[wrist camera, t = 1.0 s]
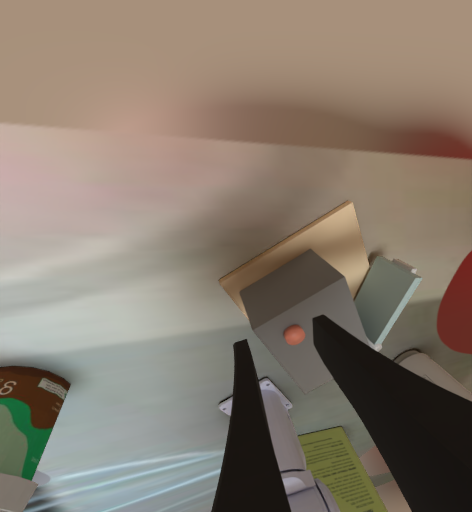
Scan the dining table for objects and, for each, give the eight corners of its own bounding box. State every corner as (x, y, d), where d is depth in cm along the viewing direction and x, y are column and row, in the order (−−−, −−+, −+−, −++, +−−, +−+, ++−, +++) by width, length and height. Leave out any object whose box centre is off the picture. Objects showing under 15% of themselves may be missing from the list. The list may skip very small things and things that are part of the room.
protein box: (266, 442, 37) (310, 608, 24) (341, 424, 41) (418, 563, 27) (260, 468, 42) (294, 620, 28) (328, 451, 45) (388, 580, 32)
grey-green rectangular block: (353, 321, 26) (383, 351, 22) (343, 321, 25) (371, 352, 21) (388, 254, 22) (431, 276, 18) (377, 253, 21) (418, 275, 18)
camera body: (345, 327, 26) (381, 368, 21) (289, 359, 27) (312, 405, 22) (311, 248, 20) (351, 280, 15) (238, 291, 20) (254, 336, 16)
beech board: (381, 321, 28) (384, 324, 28) (291, 371, 29) (292, 375, 29) (348, 200, 19) (352, 202, 19) (218, 280, 20) (219, 283, 20)
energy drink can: (409, 371, 36) (534, 497, 23) (381, 374, 35) (499, 510, 22) (428, 347, 34) (581, 472, 21) (399, 348, 32) (544, 485, 19)
